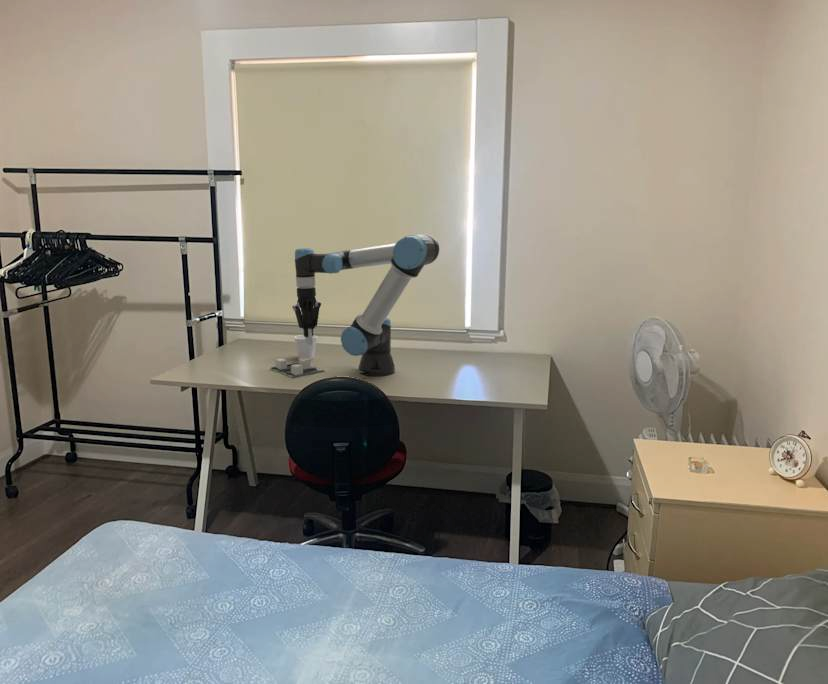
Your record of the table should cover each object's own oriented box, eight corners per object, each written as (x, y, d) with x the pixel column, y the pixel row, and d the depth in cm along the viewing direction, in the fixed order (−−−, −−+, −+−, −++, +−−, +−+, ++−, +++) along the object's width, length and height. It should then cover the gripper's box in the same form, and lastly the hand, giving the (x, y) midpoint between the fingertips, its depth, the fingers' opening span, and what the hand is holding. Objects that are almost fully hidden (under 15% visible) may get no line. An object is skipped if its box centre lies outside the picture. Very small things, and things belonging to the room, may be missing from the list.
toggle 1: (287, 368, 284) (286, 360, 284) (280, 369, 282) (280, 361, 282) (281, 366, 287) (281, 358, 286) (275, 367, 285) (275, 359, 285)
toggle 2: (303, 374, 276) (302, 365, 275) (296, 375, 274) (296, 367, 273) (297, 372, 279) (297, 364, 278) (291, 373, 277) (290, 365, 276)
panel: (326, 374, 282) (326, 369, 282) (292, 381, 272) (292, 376, 271) (302, 366, 295) (302, 361, 295) (269, 372, 285) (268, 367, 284)
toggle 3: (310, 368, 285) (310, 359, 284) (304, 369, 283) (304, 360, 282) (305, 366, 288) (304, 357, 287) (299, 367, 286) (298, 358, 285)
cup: (320, 359, 308) (319, 334, 305) (314, 364, 298) (314, 339, 296) (298, 358, 309) (297, 334, 306) (292, 363, 299) (291, 338, 297)
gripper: (313, 284, 286) (316, 340, 291) (287, 288, 277) (290, 345, 282) (324, 286, 281) (327, 342, 285) (298, 289, 272) (301, 348, 276)
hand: (309, 344), depth 284 cm, fingers closed
